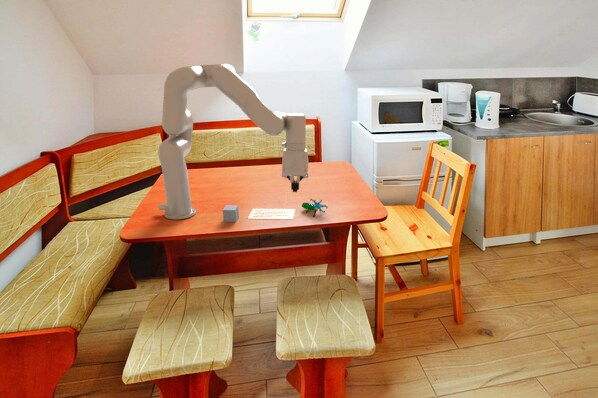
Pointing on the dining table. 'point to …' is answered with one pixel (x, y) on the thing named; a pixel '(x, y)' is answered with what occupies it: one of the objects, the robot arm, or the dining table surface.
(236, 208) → the cube
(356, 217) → the dining table surface
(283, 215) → the letter
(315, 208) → the stick construction toy
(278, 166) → the dining table surface
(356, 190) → the dining table surface
